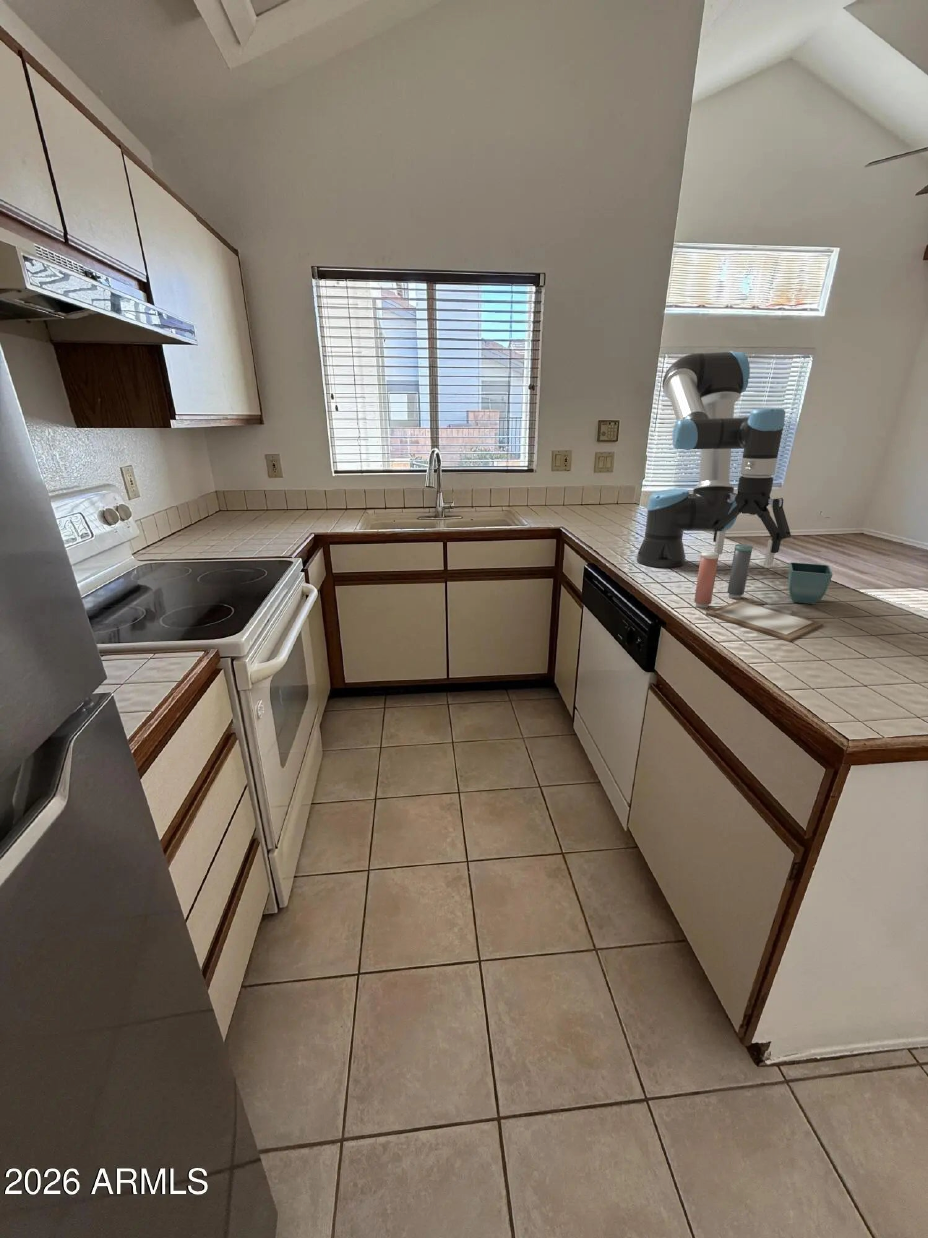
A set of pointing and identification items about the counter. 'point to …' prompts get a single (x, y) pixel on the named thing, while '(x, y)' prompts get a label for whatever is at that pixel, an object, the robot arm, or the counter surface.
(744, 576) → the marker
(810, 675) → the counter surface
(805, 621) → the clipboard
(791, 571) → the flower pot
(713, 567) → the pink bottle
